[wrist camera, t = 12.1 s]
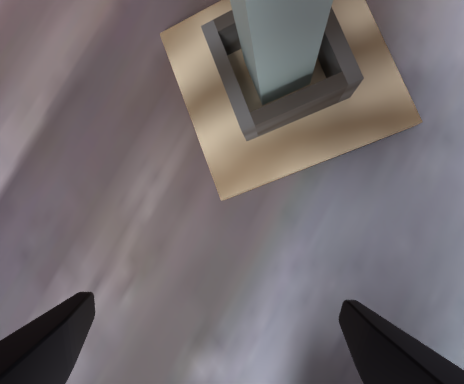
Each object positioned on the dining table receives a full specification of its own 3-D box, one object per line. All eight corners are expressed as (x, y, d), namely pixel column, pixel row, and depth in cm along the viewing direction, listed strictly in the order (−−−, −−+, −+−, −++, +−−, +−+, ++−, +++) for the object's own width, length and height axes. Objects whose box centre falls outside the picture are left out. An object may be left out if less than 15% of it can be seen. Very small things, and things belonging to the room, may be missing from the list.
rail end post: (311, 84, 19) (366, -105, 7) (261, 107, 20) (237, -33, 8) (291, 38, 19) (312, -214, 8) (243, 61, 20) (194, -135, 8)
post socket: (414, 126, 18) (452, 105, 14) (223, 200, 21) (211, 200, 17) (333, -49, 20) (346, -110, 16) (164, 40, 23) (140, 7, 19)
